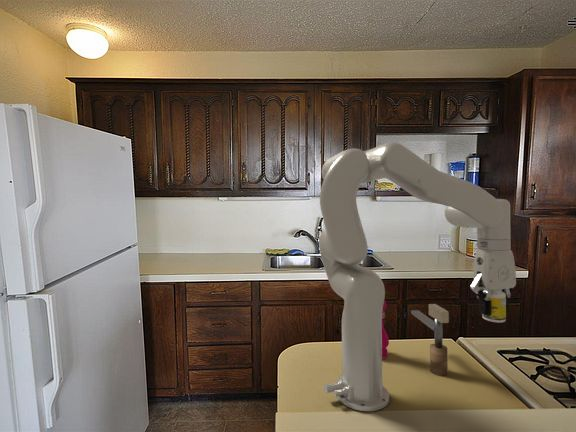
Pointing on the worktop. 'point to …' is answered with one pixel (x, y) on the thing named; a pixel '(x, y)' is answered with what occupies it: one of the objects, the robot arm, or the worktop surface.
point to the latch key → (436, 325)
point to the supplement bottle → (497, 306)
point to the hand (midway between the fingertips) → (493, 312)
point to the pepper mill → (384, 335)
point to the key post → (438, 360)
